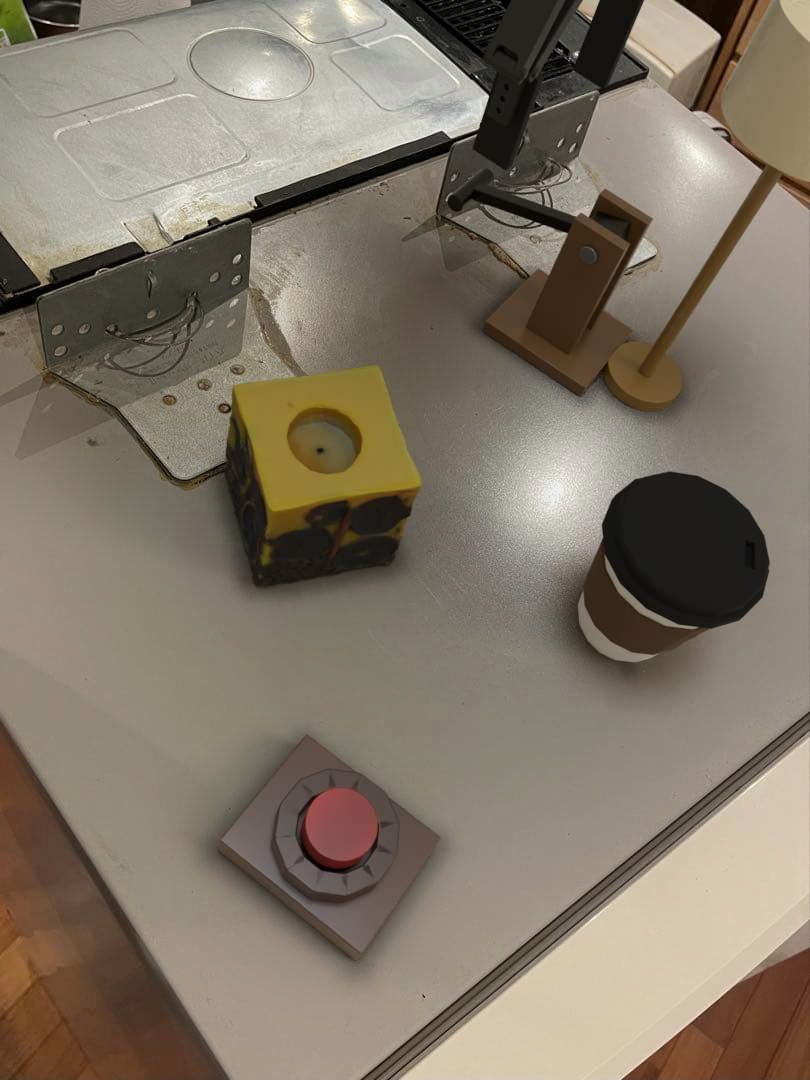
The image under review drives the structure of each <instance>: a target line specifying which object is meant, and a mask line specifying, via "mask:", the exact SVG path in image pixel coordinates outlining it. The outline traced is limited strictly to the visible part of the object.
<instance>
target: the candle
mask: <svg viewBox="0 0 810 1080" xmlns="http://www.w3.org/2000/svg"><path fill="white" fill-rule="evenodd" d="M231 389H232V390H231V404H230V409H231V413H230V416H229V427H228V430H227V437H226V446H225V452H224V454H225V459H226V464H225V467H224V477H225V478H226V479H227V484H228V486H229V493H230V495H231V497H232V499H233V506H234V508H235V510H234V514H235V516H236V519H237V522H238V526H239V528H240V531H241V534H242V540H243V543H244V547H245V553H246V554H247V556H248V558H249V563H250V569H251V571H252V581H253V582H254V583H255V585H257V586H262V587H263V586H274V585H277V584H280V583H287V584H289V583H293V582H297V581H299V580H301V579H302V580H303V579H305V580H308V579H311V578H317V577H319V576H329V575H332V574H341V573H342V572H347V571H350V570H354V569H363V568H368V567H373V566H377V565H387V566H388V565H389V564H390V563H391V562H392V561H394V560H395V559H396V552H398V550H399V549H400V546H401V544H400V543H401V540H402V539H403V534H404V530H405V524H406V522H407V520H408V518H409V517H411V515H412V509H413V504H414V501H415V500H416V498H417V496H418V494H419V493H420V491H421V490H422V487H423V485H422V476H421V474H420V472H419V470H418V468H417V466H416V464H415V463H414V460H413V458H412V457H411V454H410V453H409V451H408V447H407V443H406V439H405V437H404V435H403V432H402V429H401V425H400V424H399V421H398V419H397V415H396V413H395V410H394V407H393V404H392V400H391V397H390V394H389V393H390V392H389V390H388V387H387V385H386V381H385V378H384V375H383V371H382V369H381V368H380V366H378V365H377V364H374V365H373V364H372V365H366V366H359V367H353V368H346V369H340V370H332V371H328V372H321V373H313V374H307V375H301V376H292V377H286V378H277V379H269V380H259V381H249V382H242V383H238V384H233V385H232V387H231Z"/></svg>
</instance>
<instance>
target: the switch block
mask: <svg viewBox="0 0 810 1080" xmlns="http://www.w3.org/2000/svg"><path fill="white" fill-rule="evenodd" d="M333 788H348V789H352V790H355V791H357V792H359V793H360V794H362V795H363V796H365V797H366V798H367V799H368V800H369V802H370V803H371V804H372V806H373V808H374V810H375V812H376V815H377V819H378V831H377V836H376V839H375V841H374V843H373V845H372V846H371V848H370V849H369V850H368V852H367V853H366V854H365V856H364V857H363V858H362V859H361V860H360V861H359V862H357V863H356V864H354V865H352V866H349V867H346V868H340V869H335V868H329V867H326V866H323V865H321V864H319V863H318V862H316V861H315V860H314V859H313V858H312V857H311V856H310V855H309V854H308V852H307V850H306V849H305V846H304V844H303V841H302V833H301V830H302V823H303V820H304V817H305V815H306V813H307V811H308V808H309V806H310V805H311V803H312V802H313V800H314V799H315V798H316V797H317V796H318V795H320V794H321V793H323V792H325V791H327V790H329V789H333ZM441 839H442V837H441V836H440V835H439V834H437V833H436V832H434V831H433V830H432V829H431V828H430V827H428V826H427V825H426V824H424V823H423V822H422V821H420V820H419V819H418V818H416V817H415V816H414V815H412V814H411V813H410V812H409V811H408V810H406V809H405V808H404V807H402V806H401V805H400V804H398V803H397V802H396V801H395V800H393V799H392V798H391V797H390V796H389V795H388V793H387V792H386V791H385V790H383V789H382V788H381V787H380V786H378V785H377V784H375V782H373V781H372V780H370V779H369V778H368V777H367V776H366V775H364V774H363V773H361V772H357V771H355V770H354V769H353V768H352V767H351V766H349V765H348V764H347V763H346V762H344V761H342V760H341V759H340V758H339V757H337V756H336V755H335V754H334V753H332V752H331V751H330V750H328V748H326V747H324V746H323V745H322V744H321V743H320V742H318V741H316V740H315V739H314V738H313V737H312V736H311V735H309V734H305V735H304V736H303V738H302V739H301V740H300V741H299V742H298V744H297V745H296V746H295V747H294V748H293V750H291V752H290V753H289V755H288V756H287V757H286V758H285V760H284V761H282V763H281V764H280V765H279V767H278V768H277V769H276V770H275V772H274V773H273V774H272V775H271V777H270V778H269V779H268V780H267V781H266V782H265V784H264V785H263V786H262V787H261V788H260V789H259V791H258V793H256V794H255V796H254V797H253V798H252V800H251V801H250V802H249V803H248V804H247V806H245V808H244V809H243V810H242V812H241V813H240V814H239V816H237V818H236V819H235V820H234V821H233V823H232V824H231V825H230V826H229V827H228V828H227V830H226V831H225V832H224V833H223V835H222V836H220V838H219V841H218V846H217V851H218V852H219V853H221V854H222V855H223V856H224V857H226V859H228V860H229V861H230V862H232V864H234V865H236V866H237V867H238V868H239V869H241V870H242V871H243V872H244V873H246V875H248V876H249V877H251V879H253V880H254V881H255V882H257V883H258V884H259V885H260V886H261V887H262V888H264V889H265V890H266V891H268V892H269V893H270V894H272V896H274V897H275V898H277V899H278V900H279V901H280V902H281V903H282V904H284V905H285V906H286V907H287V908H289V909H290V910H292V911H293V912H294V913H295V914H296V915H298V916H299V918H301V919H302V920H304V921H305V922H306V923H307V924H309V925H310V926H311V927H312V928H314V929H315V930H316V931H317V932H319V933H320V934H321V935H322V936H324V937H325V939H327V940H328V941H330V942H331V943H332V944H333V945H335V946H336V947H337V948H338V949H340V950H341V951H342V952H343V953H345V954H346V955H347V956H348V957H349V958H351V959H352V960H353V961H357V960H358V959H359V958H360V957H362V956H363V954H364V953H365V951H366V950H367V949H368V948H369V946H370V944H371V943H372V941H373V940H374V938H375V937H376V935H377V934H378V933H379V931H380V930H381V928H382V926H383V925H384V923H386V920H387V919H388V918H389V916H390V915H391V913H392V912H393V910H394V908H395V907H396V906H397V904H398V903H399V902H400V900H401V899H402V896H403V895H404V894H405V892H406V891H407V889H408V888H409V886H410V885H411V883H412V882H413V880H414V879H415V878H416V876H417V875H418V873H419V871H420V870H421V868H422V867H423V866H424V864H425V863H426V861H427V860H428V859H429V857H430V856H431V854H432V853H433V851H434V849H435V848H436V847H437V845H438V844H439V842H440V840H441Z"/></svg>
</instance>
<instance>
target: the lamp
mask: <svg viewBox="0 0 810 1080" xmlns="http://www.w3.org/2000/svg"><path fill="white" fill-rule="evenodd" d="M720 108H721V113H722V116H723V118H724V120H725V122H726V124H727V127H728V128H729V130H730V131H731V132H732V133H733V135H734V136H735V137H736V139H737V140H738V141H740V143H741V144H742V145H743V146H744V147H745V148H746V149H747V150H749V152H750V153H752V154H754V155H755V156H756V157H757V158H759V160H761V161H763V162H765V163H766V165H765V166H764V168H763V170H762V171H761V173H760V175H759V176H758V178H757V179H756V181H755V182H754V184H753V186H752V187H751V189H750V190H749V192H748V194H747V195H746V197H745V199H744V200H743V202H742V203H741V204H740V207H739V208H738V209H737V211H736V213H735V214H734V216H733V217H732V219H731V221H730V222H729V224H728V226H727V228H726V229H725V230H724V232H723V234H722V235H721V236H720V238H719V240H718V241H717V243H716V245H715V246H714V248H713V249H712V251H711V253H710V254H709V256H708V258H707V259H706V261H705V262H704V264H703V265H702V267H701V269H700V270H699V272H698V273H697V275H696V277H695V278H694V280H693V281H692V283H691V285H690V286H689V288H688V290H687V291H686V292H685V294H684V296H683V297H682V298H681V300H680V302H679V304H678V305H677V307H676V309H675V310H674V311H673V313H672V315H671V316H670V318H669V320H668V322H667V323H666V324H665V326H664V328H663V329H662V331H661V333H660V334H659V336H658V338H657V339H656V340H655V342H654V343H653V345H652V344H649V343H645V342H641V341H628V342H627V341H626V343H623V344H621V345H620V346H618V347H617V348H616V349H617V350H616V351H615V350H613V351H614V353H613V352H612V353H613V355H612V353H611V356H610V358H609V360H608V362H607V364H606V366H605V367H604V369H603V370H602V374H603V375H602V376H603V380H604V382H605V385H606V387H607V388H608V390H609V391H610V392H611V394H612V395H613V396H614V397H615V398H616V399H618V400H619V401H620V402H621V403H623V404H624V405H626V406H628V407H631V408H632V409H635V410H639V411H642V412H658V411H662V410H665V409H667V408H668V407H670V406H671V405H672V403H674V401H675V400H676V398H677V396H678V395H679V393H680V392H681V390H682V386H683V377H682V373H681V370H680V368H679V367H678V364H677V363H676V362H675V361H674V360H673V359H672V357H671V356H670V355H668V354H667V353H668V351H669V350H670V349H671V346H672V345H673V343H674V342H675V340H676V338H677V337H678V335H679V334H680V333H681V330H682V329H683V328H684V326H685V325H686V323H687V322H688V320H689V319H690V317H691V316H692V314H693V312H694V311H695V310H696V308H697V306H698V305H699V303H700V302H701V301H702V298H703V297H704V295H705V294H706V293H707V291H708V289H709V288H710V286H711V285H712V283H713V282H714V280H715V279H716V277H717V276H718V274H719V273H720V271H721V269H722V268H723V266H724V264H725V263H726V261H727V260H728V258H729V257H730V256H731V254H732V252H733V250H734V249H735V248H736V246H737V245H738V243H739V241H740V240H741V238H742V237H743V235H744V233H746V231H747V229H748V227H749V226H750V225H751V223H752V221H754V219H755V217H756V215H757V214H758V212H759V211H760V210H761V207H762V206H763V205H764V203H765V201H766V200H767V198H768V196H769V195H770V194H771V192H772V190H773V189H774V188H775V186H776V184H777V183H778V181H779V180H780V179H781V177H782V175H783V173H784V174H786V175H787V176H790V177H792V178H795V179H798V180H801V181H803V182H806V183H810V0H771V1H770V2H769V4H768V7H767V8H766V10H765V12H764V13H763V16H762V17H761V19H760V21H759V23H758V25H757V27H756V28H755V30H754V32H753V34H752V36H751V38H750V39H749V42H748V43H747V45H746V47H745V49H744V50H743V53H742V54H741V56H740V59H739V60H738V62H737V64H736V65H735V67H734V69H733V71H732V73H731V74H730V76H729V78H728V81H727V82H726V84H725V86H724V88H723V89H722V92H721V96H720Z"/></svg>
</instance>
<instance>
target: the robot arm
mask: <svg viewBox="0 0 810 1080" xmlns="http://www.w3.org/2000/svg"><path fill="white" fill-rule="evenodd" d="M583 1H584V0H510V2H509V3H508V5H507V8H506V9H505V11H504V14H503V16H502V17H501V20H500V22H499V24H498V26H497V28H496V30H495V32H494V34H493V36H492V39H491V41H489V42H488V43H487V46H486V49H485V52H484V56H483V57H482V62H483V64H484V65H486V66H487V67H490V69H493V70H494V71H496V73H495V76H494V79H493V82H492V85H491V89H490V92H489V95H488V98H487V102H486V105H485V107H484V111H483V114H482V118H481V120H480V123H479V127H478V129H477V130H478V131H477V132H476V136H475V139H474V142H473V145H472V150H473V151H474V152H476V153H477V154H479V155H481V156H482V157H484V158H485V159H486V160H488V161H489V162H491V163H493V164H495V166H497V167H499V168H501V169H502V170H503V171H505V172H507V171H508V170H509V169H510V168H511V167H512V166H513V163H514V161H515V158H516V155H517V153H518V150H519V147H520V145H521V142H522V139H523V136H524V133H525V131H526V128H527V126H528V122H529V120H530V117H531V115H532V112H533V109H534V106H535V103H536V101H537V97H538V95H539V92H540V90H541V87H542V83H543V82H544V79H545V75H544V74H543V73H542V72H541V71H542V69H543V67H544V66H545V64H546V63H547V60H548V59H549V58H550V55H551V53H552V52H553V50H554V48H555V47H556V45H557V44H558V42H559V41H560V39H561V37H562V36H563V34H564V32H565V30H566V29H567V27H568V26H569V24H570V22H571V21H572V19H573V18H574V16H575V14H576V12H577V11H578V10H579V7H580V6H581V4H582V2H583ZM644 2H645V0H598V3H597V6H596V8H595V10H594V13H593V16H592V18H591V20H590V24H589V26H588V29H587V31H586V34H585V37H584V39H583V41H582V45H581V47H580V50H579V52H578V54H577V57H576V60H575V62H574V65H573V67H572V71H573V72H574V73H576V74H578V75H580V76H582V78H584V79H586V80H587V81H589V82H591V83H592V84H594V85H595V86H597V87H598V88H600V89H602V90H605V88H607V87H608V86H609V84H610V82H611V79H612V77H613V76H614V72H615V70H616V68H617V65H618V63H619V61H620V58H621V56H622V53H623V51H624V49H625V46H626V45H627V43H628V39H629V37H630V35H631V32H632V30H633V28H634V25H635V23H636V22H637V21H636V20H637V19H638V17H639V14H640V12H641V9H642V7H643V4H644Z"/></svg>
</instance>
